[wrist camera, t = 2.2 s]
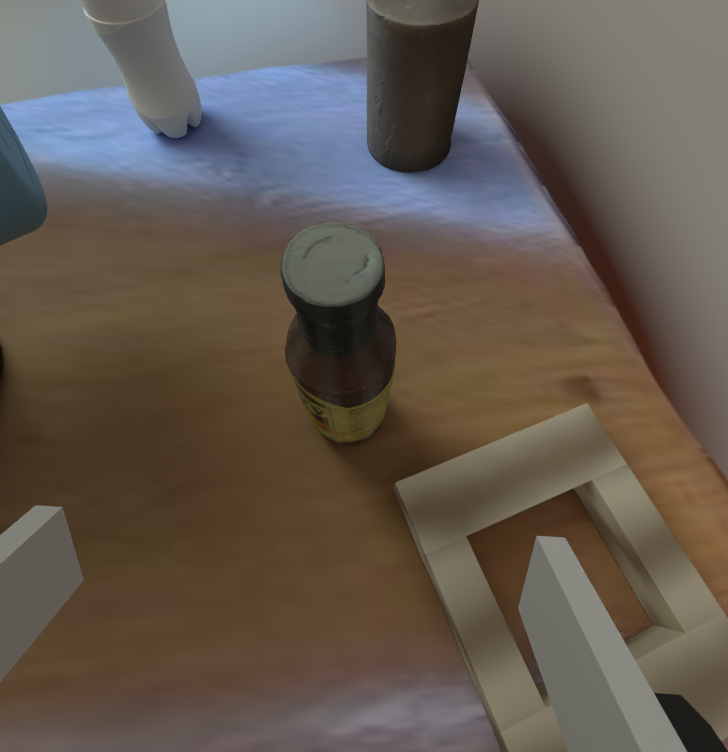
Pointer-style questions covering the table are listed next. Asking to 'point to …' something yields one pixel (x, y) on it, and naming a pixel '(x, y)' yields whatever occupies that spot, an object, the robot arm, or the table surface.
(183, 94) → the water bottle
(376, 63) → the pillar candle
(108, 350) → the table surface
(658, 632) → the birch stand
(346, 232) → the sauce bottle
